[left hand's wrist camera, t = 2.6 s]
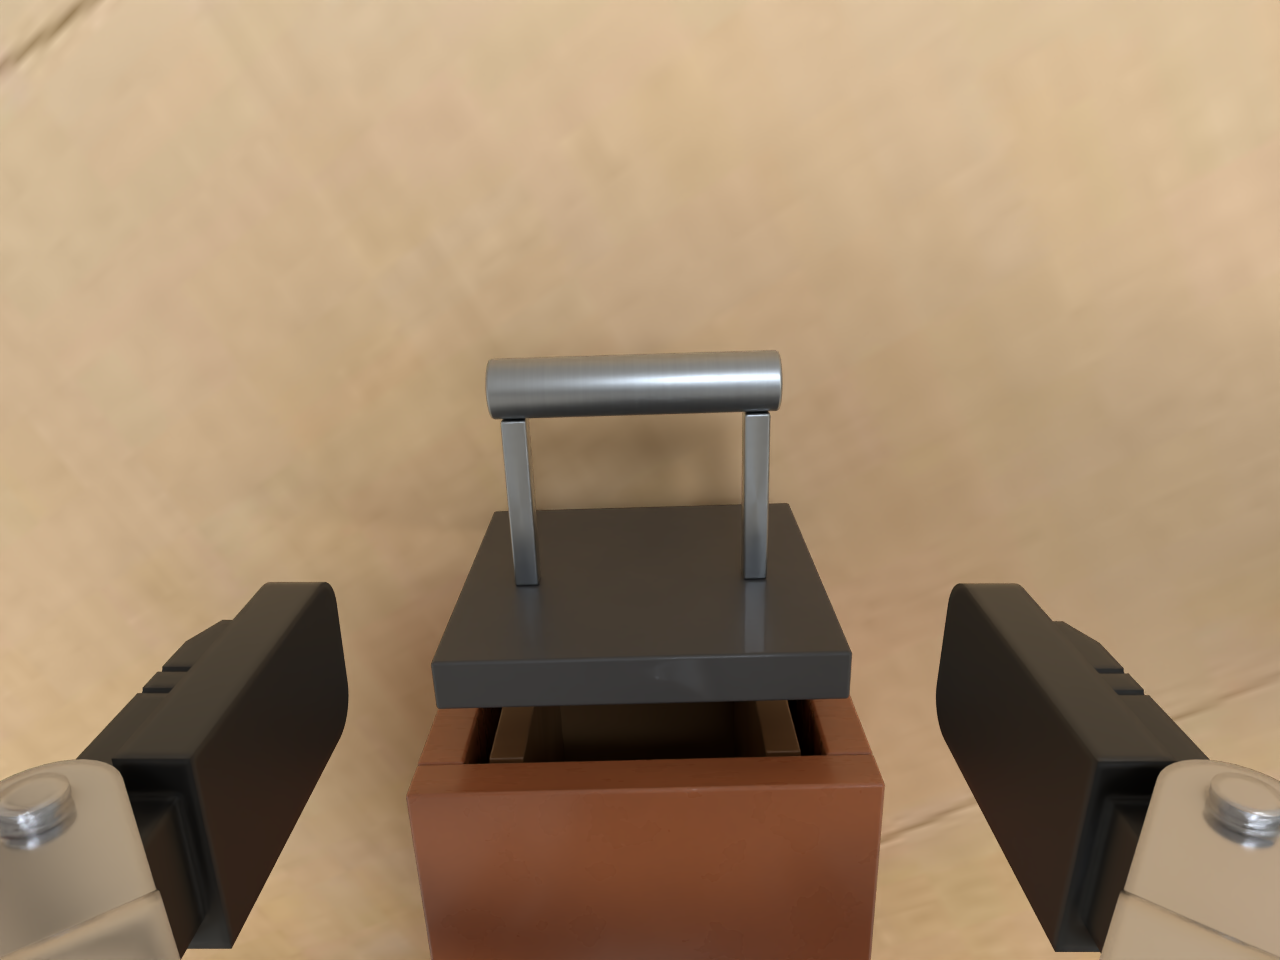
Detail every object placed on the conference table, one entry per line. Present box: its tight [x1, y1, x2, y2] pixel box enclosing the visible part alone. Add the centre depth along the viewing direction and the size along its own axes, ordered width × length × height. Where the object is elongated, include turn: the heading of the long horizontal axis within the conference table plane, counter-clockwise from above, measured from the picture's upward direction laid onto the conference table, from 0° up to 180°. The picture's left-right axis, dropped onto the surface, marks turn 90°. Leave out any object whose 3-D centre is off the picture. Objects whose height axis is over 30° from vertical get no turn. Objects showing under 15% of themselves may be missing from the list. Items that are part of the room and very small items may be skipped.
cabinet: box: [406, 694, 885, 960], centre depth 27 cm, size 20×10×11 cm, turn 2°
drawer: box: [431, 350, 852, 763], centre depth 25 cm, size 24×9×9 cm, turn 2°
